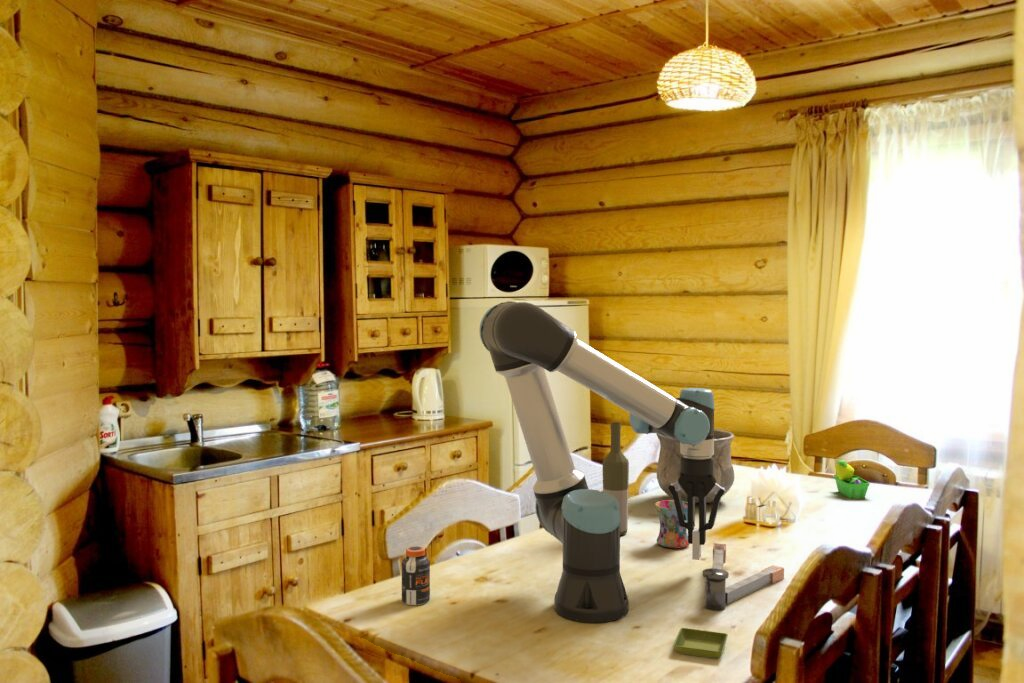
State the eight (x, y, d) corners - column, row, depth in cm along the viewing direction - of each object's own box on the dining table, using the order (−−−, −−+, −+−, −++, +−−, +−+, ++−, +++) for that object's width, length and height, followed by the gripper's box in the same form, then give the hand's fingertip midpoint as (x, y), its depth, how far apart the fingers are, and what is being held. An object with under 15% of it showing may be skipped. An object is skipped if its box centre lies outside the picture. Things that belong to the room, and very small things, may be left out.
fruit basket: (870, 499, 262) (871, 463, 261) (842, 499, 262) (842, 463, 262) (856, 490, 273) (856, 456, 273) (829, 490, 273) (829, 456, 273)
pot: (677, 489, 278) (677, 424, 276) (746, 498, 264) (746, 431, 263) (642, 504, 257) (642, 435, 256) (715, 515, 244) (715, 442, 242)
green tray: (672, 656, 150) (672, 645, 149) (680, 637, 158) (680, 626, 158) (722, 664, 146) (722, 652, 146) (728, 644, 155) (728, 633, 154)
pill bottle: (418, 608, 173) (417, 554, 172) (395, 602, 176) (395, 549, 175) (435, 599, 178) (435, 546, 177) (413, 594, 181) (413, 542, 180)
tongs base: (719, 613, 168) (719, 578, 168) (697, 607, 172) (697, 572, 172) (788, 579, 188) (789, 548, 188) (767, 574, 192) (767, 543, 192)
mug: (677, 552, 209) (677, 510, 208) (647, 545, 215) (647, 504, 215) (704, 542, 217) (705, 502, 216) (675, 535, 224) (675, 496, 223)
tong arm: (722, 589, 174) (722, 575, 174) (709, 588, 175) (709, 574, 175) (725, 556, 196) (726, 544, 196) (713, 555, 197) (713, 543, 197)
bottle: (621, 538, 221) (621, 425, 219) (597, 534, 225) (597, 423, 223) (633, 532, 227) (633, 422, 225) (610, 528, 231) (610, 420, 229)
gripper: (665, 457, 190) (665, 559, 191) (723, 461, 185) (723, 566, 186) (671, 451, 197) (671, 550, 198) (728, 454, 192) (728, 556, 193)
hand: (696, 557), depth 192 cm, fingers closed
